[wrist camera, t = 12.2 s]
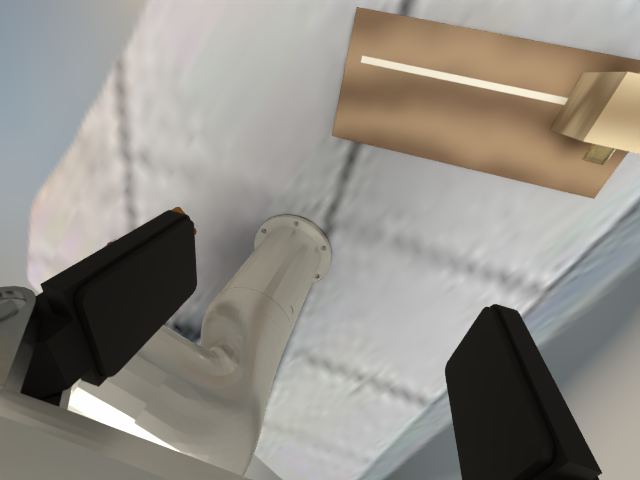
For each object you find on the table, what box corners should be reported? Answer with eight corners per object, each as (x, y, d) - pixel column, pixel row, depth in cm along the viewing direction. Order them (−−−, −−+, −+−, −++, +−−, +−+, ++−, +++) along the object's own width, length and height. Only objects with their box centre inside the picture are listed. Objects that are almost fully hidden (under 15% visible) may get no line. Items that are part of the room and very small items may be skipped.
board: (581, 190, 33) (594, 198, 31) (335, 132, 36) (331, 135, 34) (666, 70, 27) (689, 69, 24) (359, 12, 30) (356, 7, 27)
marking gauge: (593, 156, 29) (634, 173, 24) (541, 144, 29) (571, 159, 24) (656, 64, 25) (722, 61, 20) (594, 52, 25) (643, 47, 20)
